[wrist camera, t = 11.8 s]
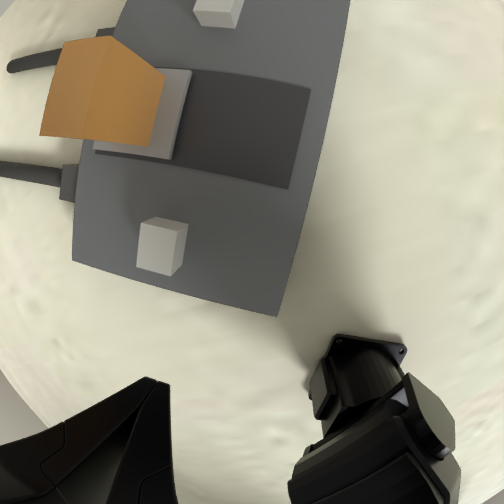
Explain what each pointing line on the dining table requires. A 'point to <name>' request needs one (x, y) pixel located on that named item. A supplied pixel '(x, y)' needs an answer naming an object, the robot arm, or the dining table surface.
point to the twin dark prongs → (26, 170)
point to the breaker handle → (114, 99)
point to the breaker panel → (216, 150)
